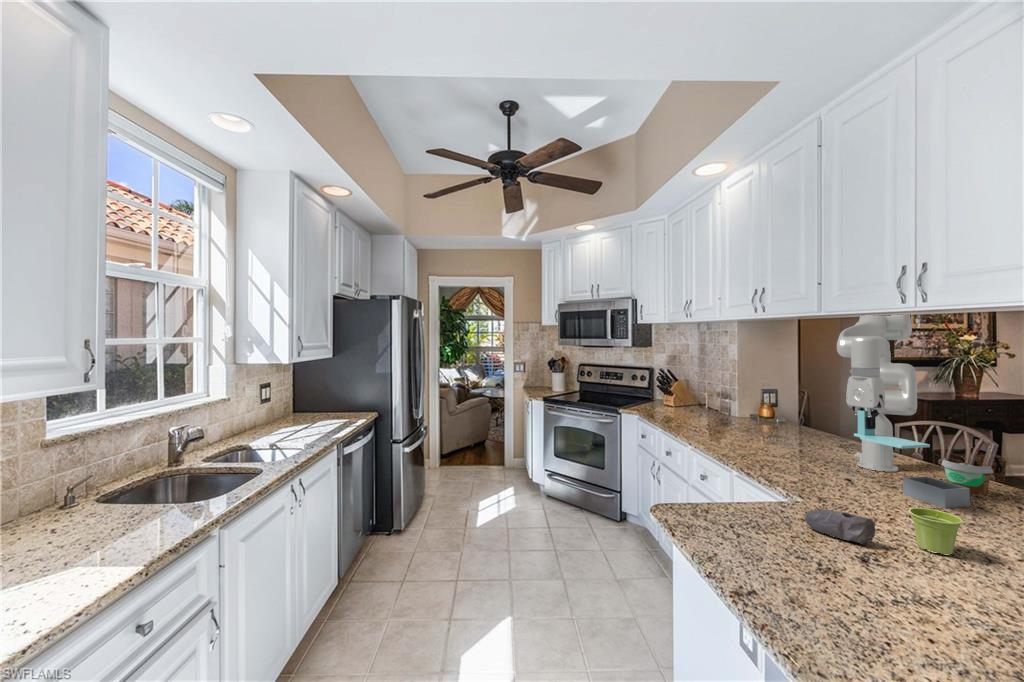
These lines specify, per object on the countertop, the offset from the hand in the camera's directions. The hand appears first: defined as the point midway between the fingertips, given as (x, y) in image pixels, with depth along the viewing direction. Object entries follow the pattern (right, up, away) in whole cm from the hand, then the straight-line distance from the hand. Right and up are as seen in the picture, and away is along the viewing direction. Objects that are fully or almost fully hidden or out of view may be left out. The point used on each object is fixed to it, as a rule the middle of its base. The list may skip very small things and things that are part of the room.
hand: (866, 427), depth 143 cm
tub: (+16, -22, -8) cm, 28 cm away
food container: (+33, -22, 0) cm, 40 cm away
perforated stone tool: (-33, -23, -31) cm, 51 cm away
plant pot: (-15, -23, -38) cm, 47 cm away
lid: (+1, -3, -7) cm, 7 cm away
